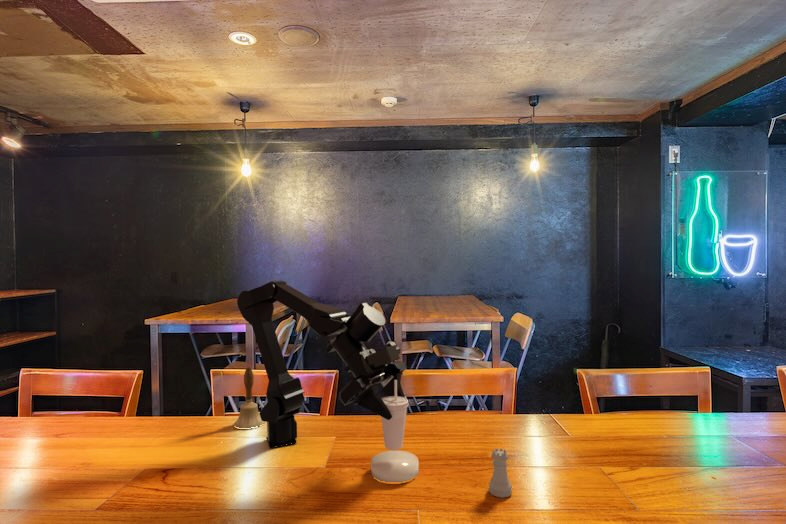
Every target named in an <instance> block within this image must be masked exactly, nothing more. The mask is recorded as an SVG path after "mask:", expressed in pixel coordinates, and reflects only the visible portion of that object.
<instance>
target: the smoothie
mask: <svg viewBox="0 0 786 524" xmlns="http://www.w3.org/2000/svg"><path fill="white" fill-rule="evenodd" d="M394 395H395V396H384V397H381V399H382V400H383V402H384V403H385V405H386V406H387V408H388V410H389V411H390V413H391V415H392V418H391V419H390V420H387V419H385V418H383V417H382V416H380V417H381V425H382V433H383V441H384V447H385V449H388V450H389V451H399V450H401V449H402V448H403V447H404V446H403V445H404V437H405V427H406V418H407V410H408V408H409V400H408V398H406V397H405V398H404V397H400V396H397V380H394ZM407 407H408V408H407Z"/></svg>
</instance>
